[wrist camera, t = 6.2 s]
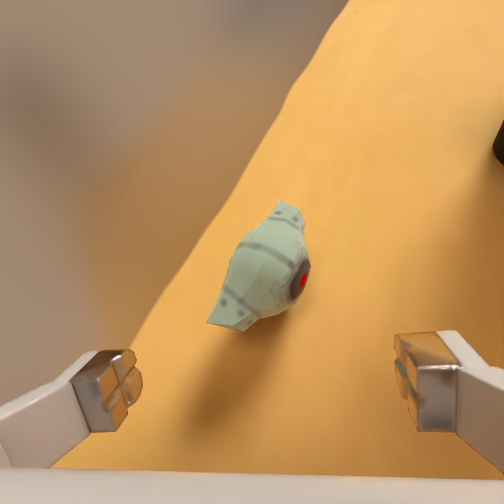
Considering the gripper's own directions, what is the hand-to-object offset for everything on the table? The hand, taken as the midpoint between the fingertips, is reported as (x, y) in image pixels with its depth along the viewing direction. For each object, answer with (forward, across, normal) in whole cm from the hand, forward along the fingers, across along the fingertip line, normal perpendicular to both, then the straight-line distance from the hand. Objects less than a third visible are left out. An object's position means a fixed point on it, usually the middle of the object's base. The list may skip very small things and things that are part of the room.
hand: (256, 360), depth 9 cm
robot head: (+10, 0, -3) cm, 11 cm away
